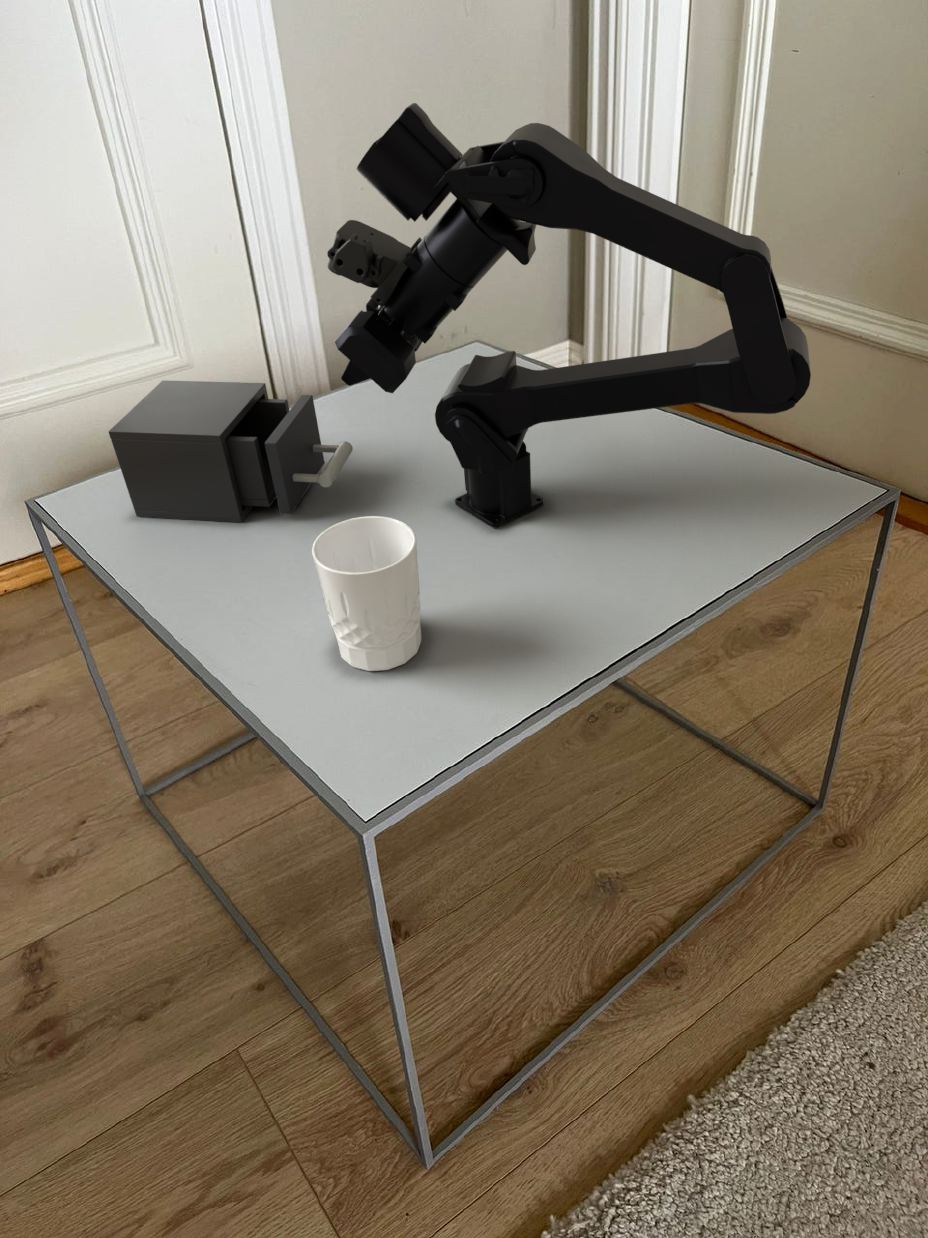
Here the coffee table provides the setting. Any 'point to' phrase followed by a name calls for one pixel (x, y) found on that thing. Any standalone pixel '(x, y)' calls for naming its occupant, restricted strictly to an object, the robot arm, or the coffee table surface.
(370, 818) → the coffee table surface
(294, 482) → the drawer
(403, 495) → the coffee table surface
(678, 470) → the coffee table surface
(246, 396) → the cabinet
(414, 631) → the white cup
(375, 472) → the coffee table surface
